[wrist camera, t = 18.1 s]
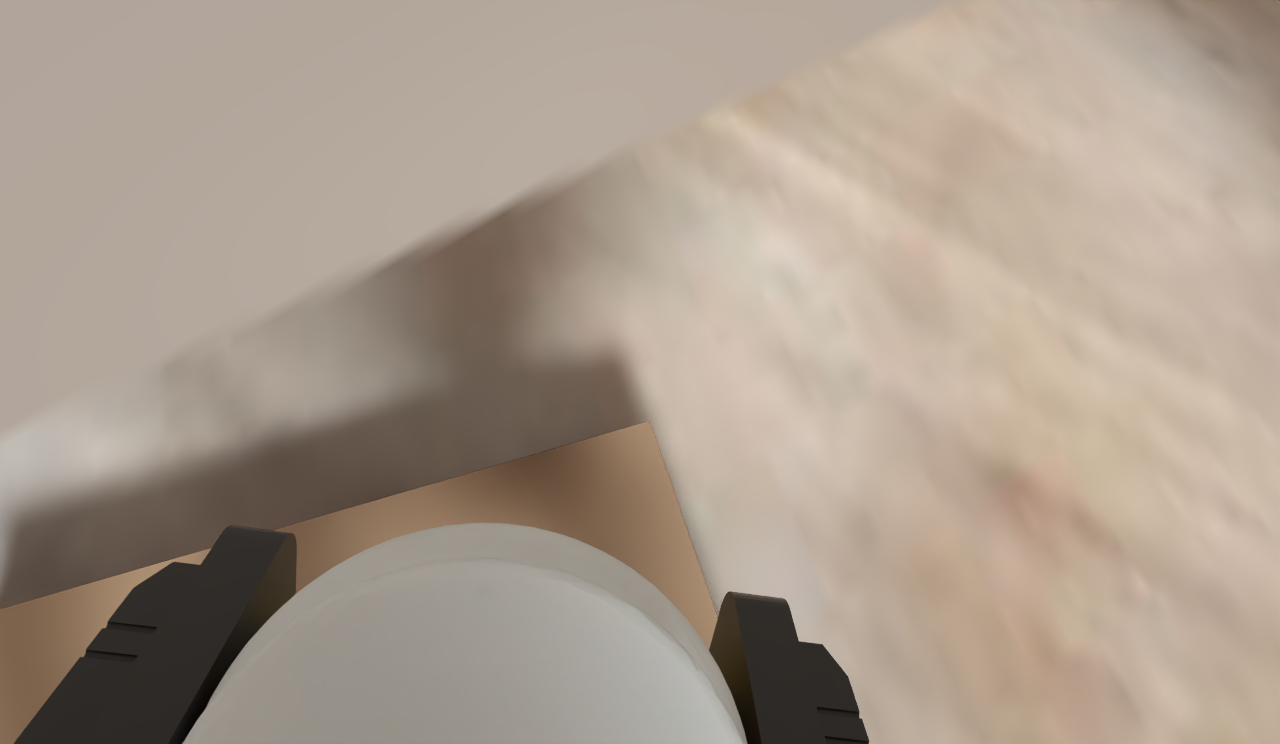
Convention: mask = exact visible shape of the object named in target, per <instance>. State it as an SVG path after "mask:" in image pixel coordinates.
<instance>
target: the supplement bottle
mask: <svg viewBox="0 0 1280 744" xmlns="http://www.w3.org/2000/svg"><path fill="white" fill-rule="evenodd" d="M183 744H747V741H746V736H745V732H744V729H743V725H742V722H741V719H740V716H739V713H738V710H737V708H736V705H735V702H734V699H733V697H732V694H731V691H730V689H729V687H728V685H727V683H726V681H725V679H724V677H723V675H722V673H721V670H720V668H719V667H718V665H717V663H716V662H715V660H714V658H713V657H712V655H711V653H710V652H709V650H708V648H707V647H706V645H705V643H704V642H703V640H702V638H701V637H700V635H699V634H698V633H697V632H696V630H695V629H694V628H693V626H692V625H691V624H690V623H689V621H688V620H687V619H686V618H685V617H684V616H683V614H682V613H681V612H680V611H679V610H678V609H677V608H676V607H675V606H674V604H673V603H672V602H671V601H670V600H669V599H668V598H667V597H666V596H665V595H664V594H663V593H662V592H661V591H660V590H659V589H658V588H656V587H655V586H654V585H653V584H652V583H650V582H649V581H648V580H646V579H645V578H644V577H643V576H641V575H640V574H639V573H637V572H636V571H635V570H633V569H632V568H631V567H629V566H627V565H626V564H624V563H623V562H621V561H619V560H618V559H616V558H614V557H612V556H611V555H609V554H607V553H605V552H604V551H601V550H599V549H597V548H595V547H593V546H590V545H588V544H586V543H584V542H582V541H579V540H577V539H574V538H571V537H568V536H565V535H562V534H558V533H555V532H551V531H547V530H543V529H539V528H535V527H529V526H521V525H513V524H503V523H468V524H457V525H446V526H441V527H437V528H432V529H427V530H422V531H417V532H414V533H410V534H407V535H403V536H400V537H397V538H393V539H390V540H388V541H386V542H383V543H381V544H378V545H376V546H373V547H371V548H368V549H366V550H364V551H362V552H360V553H358V554H356V555H354V556H352V557H350V558H349V559H347V560H345V561H343V562H341V563H340V564H338V565H336V566H334V567H333V568H331V569H330V570H328V571H327V572H325V573H324V574H322V575H321V576H319V577H318V578H316V579H315V580H314V581H312V582H311V583H309V584H308V585H307V586H305V587H304V588H303V589H301V590H300V591H299V592H298V593H296V594H295V595H294V596H293V597H292V598H291V599H290V600H289V601H288V602H286V603H285V604H284V605H283V606H282V607H281V608H280V609H279V610H278V611H277V612H276V613H275V614H274V615H272V616H271V617H270V618H269V619H268V621H267V622H266V623H265V624H264V625H263V626H262V627H261V628H260V629H259V630H258V632H257V633H256V634H255V635H254V636H253V637H252V638H251V639H250V640H249V641H248V643H247V644H246V645H245V647H244V648H243V649H242V651H241V652H240V653H239V655H238V656H237V657H236V659H235V660H234V661H233V663H232V664H231V666H230V667H229V669H228V670H227V672H226V673H225V675H224V677H223V678H222V680H221V682H220V683H219V685H218V687H217V688H216V690H215V692H214V693H213V695H212V697H211V698H210V701H209V703H208V705H207V707H206V709H205V710H204V712H203V713H202V714H201V716H200V717H199V718H198V720H197V721H196V723H195V725H194V726H193V728H192V729H191V731H190V732H189V734H188V736H187V737H186V739H185V740H184V742H183Z"/></svg>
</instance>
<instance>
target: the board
mask: <svg viewBox="0 0 1280 744" xmlns="http://www.w3.org/2000/svg"><path fill="white" fill-rule="evenodd" d="M468 523H503V524H513V525H521V526H529V527H535V528H539V529H543V530H547V531H551V532H555V533H558V534H562V535H565V536H568V537H571V538H574V539H577V540H579V541H582V542H584V543H586V544H588V545H590V546H593V547H595V548H597V549H599V550H601V551H604V552H605V553H607V554H609V555H611V556H612V557H614V558H616V559H618V560H619V561H621V562H623V563H624V564H626V565H627V566H629V567H631V568H632V569H633V570H635V571H636V572H637V573H639V574H640V575H641V576H643V577H644V578H645V579H646V580H648V581H649V582H650V583H652V584H653V585H654V586H655V587H656V588H658V589H659V590H660V591H661V592H662V593H663V594H664V595H665V596H666V597H667V598H668V599H669V600H670V601H671V602H672V603H673V604H674V606H675V607H676V608H677V609H678V610H679V611H680V612H681V613H682V614H683V616H684V617H685V618H686V619H687V620H688V621H689V623H690V624H691V625H692V626H693V628H694V629H695V630H696V632H697V633H698V634H699V635H700V637H701V638H702V640H703V642H704V643H705V645H706V647H707V648H708V650H709V648H710V644H711V641H712V637H713V634H714V630H715V627H716V623H717V619H718V617H717V614H716V611H715V608H714V605H713V602H712V599H711V597H710V594H709V591H708V588H707V585H706V582H705V579H704V576H703V573H702V571H701V568H700V565H699V562H698V559H697V556H696V553H695V550H694V547H693V545H692V542H691V539H690V536H689V533H688V530H687V527H686V524H685V522H684V519H683V516H682V513H681V510H680V507H679V504H678V501H677V498H676V496H675V493H674V490H673V487H672V484H671V481H670V478H669V475H668V472H667V470H666V467H665V464H664V461H663V458H662V455H661V452H660V449H659V446H658V444H657V441H656V438H655V435H654V432H653V429H652V426H651V423H650V421H648V422H644V423H641V424H637V425H634V426H630V427H627V428H623V429H620V430H616V431H613V432H610V433H606V434H603V435H599V436H596V437H592V438H589V439H585V440H582V441H579V442H575V443H572V444H568V445H565V446H561V447H558V448H554V449H551V450H547V451H544V452H541V453H537V454H534V455H530V456H527V457H523V458H520V459H516V460H513V461H510V462H506V463H503V464H499V465H496V466H492V467H489V468H485V469H482V470H478V471H475V472H472V473H468V474H465V475H461V476H458V477H454V478H451V479H447V480H444V481H441V482H437V483H434V484H430V485H427V486H423V487H420V488H416V489H413V490H409V491H406V492H403V493H399V494H396V495H392V496H389V497H385V498H382V499H378V500H375V501H372V502H368V503H365V504H361V505H358V506H354V507H351V508H347V509H344V510H340V511H337V512H334V513H330V514H327V515H323V516H320V517H316V518H313V519H309V520H306V521H303V522H299V523H296V524H292V525H289V526H285V527H282V528H278V529H275V530H272V531H280V532H287V533H293V534H294V535H295V537H296V542H297V565H296V593H298V592H299V591H300V590H301V589H303V588H304V587H305V586H307V585H308V584H309V583H311V582H312V581H314V580H315V579H316V578H318V577H319V576H321V575H322V574H324V573H325V572H327V571H328V570H330V569H331V568H333V567H334V566H336V565H338V564H340V563H341V562H343V561H345V560H347V559H349V558H350V557H352V556H354V555H356V554H358V553H360V552H362V551H364V550H366V549H368V548H371V547H373V546H376V545H378V544H381V543H383V542H386V541H388V540H390V539H393V538H397V537H400V536H403V535H407V534H410V533H414V532H417V531H422V530H427V529H432V528H437V527H441V526H446V525H457V524H468ZM211 549H212V548H209V549H206V550H203V551H199V552H196V553H192V554H189V555H185V556H182V557H178V558H175V559H171V560H168V561H165V562H161V563H158V564H154V565H151V566H147V567H144V568H140V569H137V570H134V571H130V572H127V573H123V574H120V575H116V576H113V577H109V578H106V579H102V580H99V581H96V582H92V583H89V584H85V585H82V586H78V587H75V588H71V589H68V590H65V591H61V592H58V593H54V594H51V595H47V596H44V597H40V598H37V599H33V600H30V601H27V602H23V603H20V604H16V605H13V606H9V607H6V608H2V609H0V744H14V742H15V741H16V740H17V738H18V737H19V736H20V734H21V733H22V732H23V731H24V729H25V728H26V727H27V725H28V724H29V723H30V721H31V720H32V719H33V718H34V716H35V715H36V714H37V712H38V711H39V710H40V708H41V707H42V706H43V705H44V703H45V702H46V701H47V699H48V698H49V697H50V695H51V694H52V693H53V692H54V690H55V689H56V688H57V686H58V685H59V684H60V682H61V681H62V680H63V679H64V677H65V676H66V675H67V673H68V672H69V671H70V669H71V668H72V667H73V666H74V664H75V663H76V662H77V660H78V659H79V658H80V657H84V655H85V653H86V649H87V647H88V646H89V645H90V643H91V642H92V641H93V640H94V638H95V637H96V636H97V634H98V633H99V632H100V630H101V629H102V628H106V626H107V623H108V620H109V619H110V617H111V616H112V615H113V614H114V612H115V611H116V610H117V608H118V607H119V606H120V604H121V603H122V602H123V601H124V599H125V598H126V597H127V595H128V594H129V593H130V591H131V590H132V589H133V588H134V587H135V586H137V585H138V584H140V583H141V582H143V581H144V580H146V579H148V578H149V577H151V576H152V575H154V574H155V573H157V572H158V571H160V570H161V569H163V568H164V567H166V566H167V565H169V564H171V563H172V562H181V563H189V564H197V565H201V563H202V562H203V560H204V559H205V557H206V556H207V554H208V553H209V552H210V550H211Z"/></svg>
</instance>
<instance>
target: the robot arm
mask: <svg viewBox="0 0 1280 744" xmlns="http://www.w3.org/2000/svg"><path fill="white" fill-rule="evenodd" d="M296 565H297V542H296V537H295V535H294V534H293V533H287V532H280V531H272V530H264V529H257V528H249V527H241V526H234V525H231V526H229V527H227V528H226V529H225V530H224V531H223V533H222V534H221V536H220V537H219V538H218V540H217V541H216V543H215V544H214V546H213V547H212V549H211V550H210V552H209V553H208V554H207V556H206V557H205V559H204V560H203V562H202V563H201V565H197V564H189V563H181V562H172V563H171V564H169V565H167V566H166V567H164V568H163V569H161V570H160V571H158V572H157V573H155V574H154V575H152V576H151V577H149V578H148V579H146V580H144V581H143V582H141V583H140V584H138V585H137V586H135V587H134V588H133V589H132V590H131V591H130V593H129V594H128V595H127V597H126V598H125V599H124V601H123V602H122V603H121V604H120V606H119V607H118V608H117V610H116V611H115V612H114V614H113V615H112V616H111V617H110V619H109V620H108V623H107V626H106V628H102V629H101V630H100V632H99V633H98V634H97V636H96V637H95V638H94V640H93V641H92V642H91V643H90V645H89V646H88V647H87V649H86V653H85V655H84V657H80V658H79V659H78V660H77V662H76V663H75V664H74V666H73V667H72V668H71V669H70V671H69V672H68V673H67V675H66V676H65V677H64V679H63V680H62V681H61V682H60V684H59V685H58V686H57V688H56V689H55V690H54V692H53V693H52V694H51V695H50V697H49V698H48V699H47V701H46V702H45V703H44V705H43V706H42V707H41V708H40V710H39V711H38V712H37V714H36V715H35V716H34V718H33V719H32V720H31V721H30V723H29V724H28V725H27V727H26V728H25V729H24V731H23V732H22V733H21V734H20V736H19V737H18V738H17V740H16V741H15V742H14V744H183V742H184V740H185V739H186V737H187V736H188V734H189V732H190V731H191V729H192V728H193V726H194V725H195V723H196V721H197V720H198V718H199V717H200V716H201V714H202V713H203V712H204V710H205V709H206V707H207V705H208V703H209V701H210V698H211V697H212V695H213V693H214V692H215V690H216V688H217V687H218V685H219V683H220V682H221V680H222V678H223V677H224V675H225V673H226V672H227V670H228V669H229V667H230V666H231V664H232V663H233V661H234V660H235V659H236V657H237V656H238V655H239V653H240V652H241V651H242V649H243V648H244V647H245V645H246V644H247V643H248V641H249V640H250V639H251V638H252V637H253V636H254V635H255V634H256V633H257V632H258V630H259V629H260V628H261V627H262V626H263V625H264V624H265V623H266V622H267V621H268V619H269V618H270V617H271V616H272V615H274V614H275V613H276V612H277V611H278V610H279V609H280V608H281V607H282V606H283V605H284V604H285V603H286V602H288V601H289V600H290V599H291V598H292V597H293V596H294V595H295V594H296ZM709 652H710V653H711V655H712V657H713V658H714V660H715V662H716V663H717V665H718V667H719V668H720V670H721V673H722V675H723V677H724V679H725V681H726V683H727V685H728V687H729V689H730V691H731V694H732V697H733V699H734V702H735V705H736V708H737V710H738V713H739V716H740V719H741V722H742V725H743V729H744V732H745V736H746V741H747V744H869V739H868V736H867V733H866V730H865V727H864V724H863V721H862V719H859V709H858V706H857V703H856V700H855V697H854V693H853V690H852V687H851V684H850V681H849V678H848V676H847V675H846V674H845V672H844V671H843V670H842V668H841V667H840V666H839V665H838V663H837V662H836V661H835V660H834V658H833V657H832V656H831V655H830V653H829V652H828V651H827V650H826V648H825V647H824V646H823V645H822V644H815V643H807V642H799V641H798V637H797V633H796V630H795V626H794V622H793V619H792V615H791V611H790V608H789V605H788V603H787V601H786V600H785V599H783V598H775V597H768V596H760V595H752V594H745V593H737V592H728V593H727V594H726V595H725V597H724V599H723V602H722V605H721V609H720V612H719V616H718V619H717V623H716V627H715V630H714V634H713V637H712V641H711V644H710V648H709Z"/></svg>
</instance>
